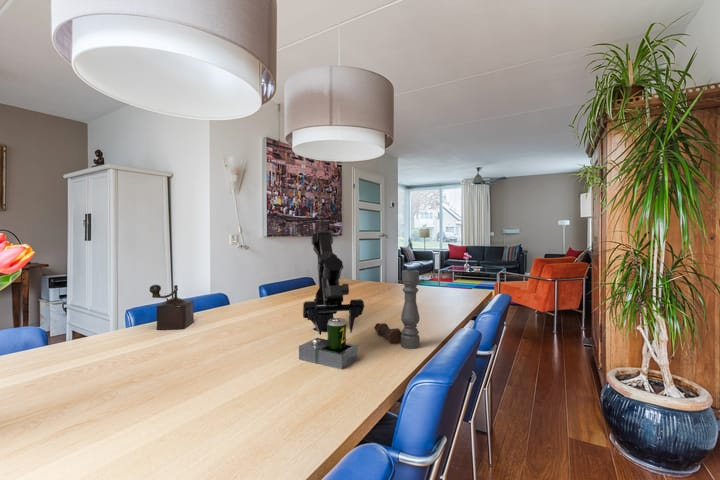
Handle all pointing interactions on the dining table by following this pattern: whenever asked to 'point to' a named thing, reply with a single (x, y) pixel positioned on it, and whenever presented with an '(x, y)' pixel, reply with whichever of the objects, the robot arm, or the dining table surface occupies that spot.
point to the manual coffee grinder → (173, 311)
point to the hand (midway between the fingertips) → (336, 333)
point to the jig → (327, 354)
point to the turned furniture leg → (410, 310)
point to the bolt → (389, 333)
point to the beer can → (336, 335)
